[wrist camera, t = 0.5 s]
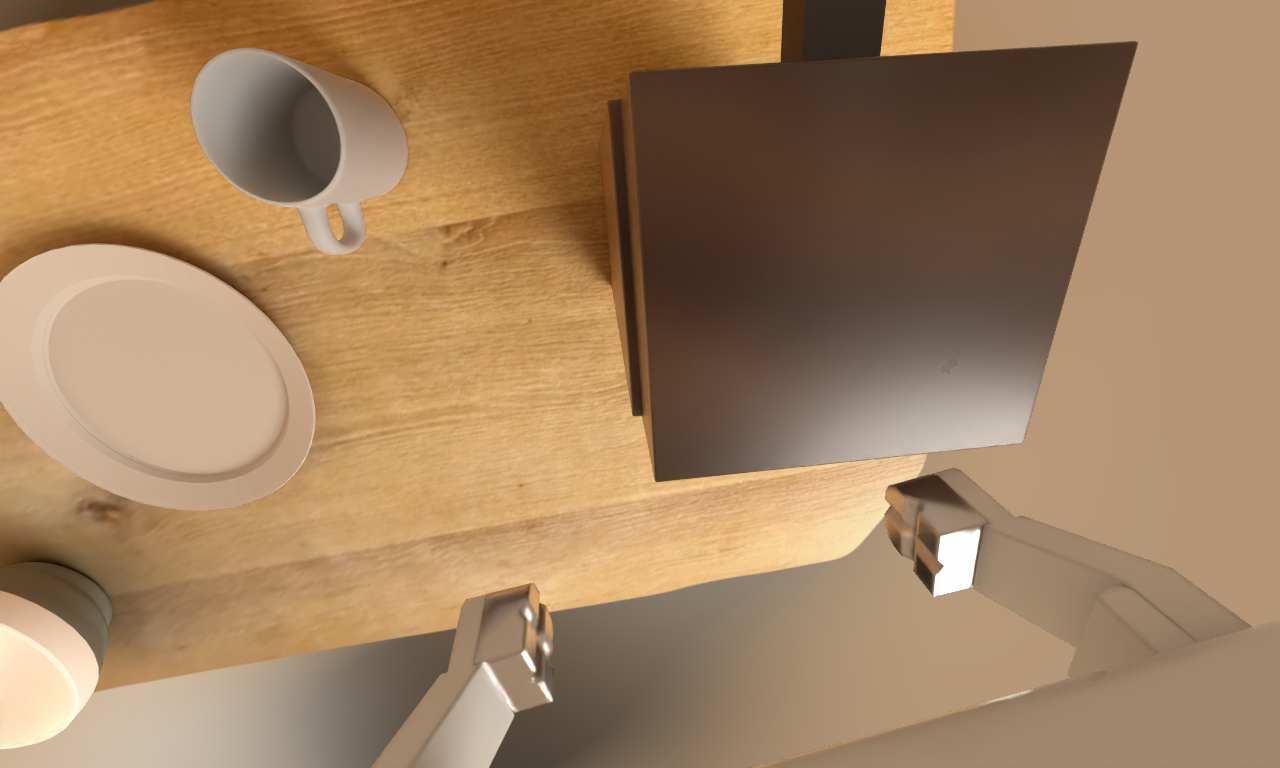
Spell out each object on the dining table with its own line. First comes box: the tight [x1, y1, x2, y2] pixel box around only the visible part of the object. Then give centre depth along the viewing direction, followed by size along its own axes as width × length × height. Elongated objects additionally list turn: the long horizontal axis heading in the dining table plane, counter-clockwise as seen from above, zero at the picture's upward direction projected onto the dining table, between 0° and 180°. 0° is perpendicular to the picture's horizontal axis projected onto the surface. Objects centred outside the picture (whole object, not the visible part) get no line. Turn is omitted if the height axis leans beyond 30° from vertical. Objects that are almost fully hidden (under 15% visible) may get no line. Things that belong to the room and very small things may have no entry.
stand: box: [599, 41, 1138, 482], centre depth 29 cm, size 12×14×31 cm
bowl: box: [0, 562, 112, 749], centre depth 49 cm, size 20×20×10 cm
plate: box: [0, 243, 315, 511], centre depth 44 cm, size 26×26×2 cm
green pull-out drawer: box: [781, 0, 886, 62], centre depth 16 cm, size 22×10×2 cm, turn 4°
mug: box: [190, 47, 408, 255], centre depth 34 cm, size 12×8×11 cm
